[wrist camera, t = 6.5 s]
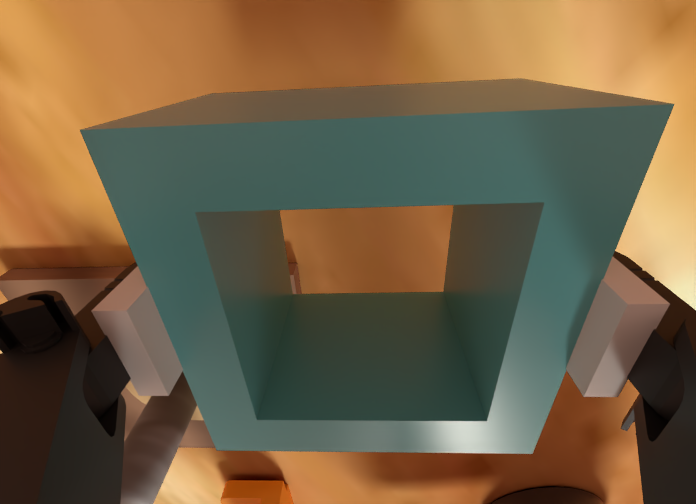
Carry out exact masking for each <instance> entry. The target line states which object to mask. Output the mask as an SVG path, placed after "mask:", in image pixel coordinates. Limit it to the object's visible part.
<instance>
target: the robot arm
mask: <svg viewBox="0 0 696 504" xmlns="http://www.w3.org/2000/svg"><path fill="white" fill-rule="evenodd" d="M0 350H1V351H2V352H3V353H2V354H0V504H120V502H121V486H122V470H123V453H124V437H125V421H126V403H125V399H124V397H123V396H122V394H121V392H122V391H123V389H124V388H125V387H126V385H127V384H128V382H129V381H131V383H132V384H133V386H134V388H135V390H136V391H137V393H138V395H139V396H169V394H170V393H171V391H172V389H173V387H174V385H175V384H176V382H177V380H178V378H179V377H180V375H181V373H182V371H183V368H182V366H181V363H180V361H179V359H178V356H177V354H176V352H175V349H174V347H173V345H172V342H171V340H170V338H169V335H168V333H167V330H166V328H165V326H164V323H163V321H162V319H161V316H160V314H159V312H158V309H157V307H156V305H155V302H154V300H153V298H152V295H151V293H150V290H149V288H148V287H147V286H146V284H145V282H144V279H143V277H142V275H141V272H140V270H139V267H138V265H137V263H134V264H132V265H131V266H129V267H127V268H126V269H125V270H123V271H122V272H121V273H120V274H119V275H118V276H117V277H116V278H115V279H114V281H112V282H111V283H109V284H108V285H107V286H106V287H105V288H104V291H101V292H100V293H99V294H98V295H97V296H95V297H94V298H93V299H92V300H91V301H90V302H89V303H88V304H87V305H86V306H85V307H84V308H82V309H81V310H80V311H79V312H78V313H77V314H76V315H75V316H74V314H73V312H72V311H71V309H70V307H69V306H68V304H67V302H66V301H65V299H64V298H63V296H62V294H60V293H59V292H57V291H48V290H44V291H38V292H33V293H29V294H25V295H22V296H19V297H16V298H14V299H12V300H9V301H7V302H5V303H3V304H1V305H0ZM566 370H567V372H568V373H569V375H570V376H571V378H572V380H573V381H574V383H575V384H576V386H577V387H578V389H579V391H580V392H581V394H582V395H583V397H618V396H619V394H620V392H621V391H622V389H623V387H624V385H625V383H626V382H627V380H628V379H629V380H630V382H631V383H632V384H633V385H634V387H635V388H636V389H637V390H638V391H639V393H640V394H639V395H638V397H637V399H636V400H635V402H634V404H633V405H632V407H631V409H630V410H629V412H628V414H627V415H626V417H625V418H624V420H623V422H622V426H621V429H623V430H625V431H627V430H628V429H629V427H630V425H631V424H632V423H633V422H635V426H636V435H637V445H638V454H639V464H640V473H641V483H642V492H643V502H644V504H696V310H694V309H693V308H692V307H691V306H689V305H688V304H687V303H686V302H684V301H683V300H682V299H680V298H679V297H678V296H677V295H675V294H674V293H673V292H672V291H670V290H669V289H668V288H666V287H665V286H664V285H663V284H661V283H660V282H659V281H655V280H654V277H652V276H651V275H650V274H649V273H647V272H646V271H642V268H641V267H640V266H638V265H637V264H636V263H635V262H633V261H632V260H631V259H630V258H628V257H626V256H624V255H622V254H620V253H618V252H616V251H615V252H614V254H613V257H612V259H611V262H610V264H609V266H608V269H607V271H606V274H605V276H604V279H602V280H601V283H600V285H599V288H598V290H597V293H596V295H595V298H594V300H593V303H592V305H591V307H590V310H589V312H588V315H587V317H586V320H585V322H584V325H583V327H582V330H581V332H580V335H579V337H578V340H577V342H576V345H575V347H574V350H573V352H572V355H571V357H570V360H569V362H568V365H567V367H566ZM492 504H604V503H603V501H602V500H601V499H600V498H599V497H597V496H595V495H594V494H591V493H589V492H586V491H583V490H578V489H572V488H560V487H550V488H537V489H531V490H525V491H521V492H517V493H513V494H510V495H508V496H505V497H503V498H500V499H498V500H497V501H495V502H493V503H492Z"/></svg>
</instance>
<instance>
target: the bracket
mask: <svg viewBox="0 0 696 504" xmlns="http://www.w3.org/2000/svg"><path fill="white" fill-rule="evenodd" d="M221 503H222V504H294V503H293V500H292V497H291V493H290V490H289V487H288V484H284V481H254V480H230V481H227V482H226V484H225V488H224V491H223V494H222V497H221Z"/></svg>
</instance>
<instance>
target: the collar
mask: <svg viewBox="0 0 696 504" xmlns="http://www.w3.org/2000/svg"><path fill="white" fill-rule="evenodd" d="M673 106H674V104H671V103H665V102H659V101H653V100H647V99H641V98H635V97H629V96H623V95H617V94H611V93H605V92H599V91H593V90H587V89H581V88H575V87H569V86H563V85H557V84H551V83H545V82H539V81H533V80H527V79H500V80H479V81H459V82H438V83H418V84H397V85H377V86H356V87H336V88H315V89H294V90H274V91H253V92H233V93H212V94H208V95H205V96H201V97H197V98H194V99H190V100H187V101H183V102H179V103H176V104H172V105H168V106H165V107H161V108H158V109H154V110H150V111H147V112H143V113H139V114H136V115H132V116H129V117H125V118H121V119H118V120H114V121H111V122H107V123H103V124H100V125H96V126H92V127H89V128H85V129H82V130H80V132H81V134H82V136H83V139H84V141H85V143H86V146H87V148H88V150H89V153H90V155H91V157H92V160H93V162H94V164H95V167H96V169H97V172H98V174H99V176H100V179H101V181H102V183H103V186H104V188H105V190H106V193H107V195H108V197H109V200H110V202H111V204H112V207H113V209H114V211H115V214H116V216H117V218H118V221H119V223H120V225H121V228H122V230H123V232H124V235H125V237H126V239H127V242H128V244H129V246H130V249H131V251H132V253H133V256H134V258H135V260H136V263H137V265H138V267H139V270H140V272H141V275H142V277H143V279H144V282H145V284H146V286H147V287H148V288H149V290H150V293H151V295H152V298H153V300H154V302H155V305H156V307H157V309H158V312H159V314H160V316H161V319H162V321H163V323H164V326H165V328H166V330H167V333H168V335H169V338H170V340H171V342H172V345H173V347H174V349H175V352H176V354H177V356H178V359H179V361H180V363H181V366H182V368H183V373H184V375H185V377H186V380H187V382H188V385H189V387H190V389H191V392H192V394H193V396H194V399H195V401H196V403H197V406H198V408H199V410H200V413H201V415H202V417H203V420H204V422H205V424H206V427H207V429H208V431H209V434H210V436H211V438H212V441H213V443H214V445H215V448H216V450H223V451H317V452H410V453H503V454H533V451H534V449H535V446H536V444H537V442H538V439H539V437H540V434H541V432H542V429H543V427H544V424H545V422H546V419H547V417H548V414H549V412H550V409H551V407H552V405H553V402H554V400H555V397H556V395H557V392H558V390H559V387H560V385H561V382H562V380H563V377H564V375H565V372H566V367H567V365H568V362H569V360H570V357H571V355H572V352H573V350H574V347H575V345H576V342H577V340H578V337H579V335H580V332H581V330H582V327H583V325H584V322H585V320H586V317H587V315H588V312H589V310H590V307H591V305H592V303H593V300H594V298H595V295H596V293H597V290H598V288H599V285H600V283H601V280H602V279H604V276H605V274H606V271H607V269H608V266H609V264H610V262H611V259H612V257H613V254H614V252H615V249H616V247H617V244H618V242H619V239H620V237H621V234H622V232H623V229H624V227H625V225H626V222H627V220H628V217H629V215H630V212H631V210H632V207H633V205H634V202H635V200H636V197H637V195H638V192H639V190H640V188H641V185H642V183H643V180H644V178H645V175H646V173H647V170H648V168H649V165H650V163H651V160H652V158H653V155H654V153H655V151H656V148H657V146H658V143H659V141H660V138H661V136H662V133H663V131H664V128H665V126H666V123H667V121H668V119H669V116H670V114H671V111H672V109H673ZM433 205H454V207H453V215H452V224H451V232H450V240H449V249H448V257H447V266H446V274H445V283H444V291H443V292H403V293H337V294H293V291H292V285H291V279H290V273H289V267H288V260H287V254H286V248H285V242H284V235H283V229H282V223H281V217H280V211H279V210H295V209H330V208H364V207H399V206H433Z"/></svg>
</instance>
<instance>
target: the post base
mask: <svg viewBox="0 0 696 504" xmlns="http://www.w3.org/2000/svg"><path fill="white" fill-rule="evenodd" d="M128 267H129V266H128ZM288 267H289V273H290V279H291V285H292V291H293V294H302V293H301V286H300V280H299V273H298V266H297V263H288ZM126 268H127V267H81V268H34V269H11V270H9V271H8V272H6V273H5V274H3V275H2V276H0V290H1V292H2V293H3V294H4V296H5V297H6V298H7V300H8V301H9V300H12V299H14V298H16V297H19V296H22V295H25V294H29V293H33V292H38V291H44V290H48V291H57V292H59V293H60V294H62V296H63V298H64V299H65V301H66V302H67V304H68V306H69V307H70V309H71V311H72V312H73V314H74V316H75V315H76V314H77V313H78V312H79V311H80V310H81V309H82V308H84V307H85V306H86V305H87V304H88V303H89V302H90V301H91V300H92V299H93V298H94V297H95V296H97V295H98V294H99V293H100V292H101V291H104V288H105V287H106V286H107V285H108V284H109V283H111V282H112V281H114V279H115V278H116V277H117V276H118V275H119V274H120V273H121V272H122V271H123V270H125V269H126ZM121 394H122V396H123V397H124V399H125V403H126V421H125V437H124V453H123V470H122V486H121V502H120V504H153V503H154V500H155V498H156V496H157V494H158V491H159V489H160V487H161V485H162V483H163V480H164V478H165V476H166V474H167V472H168V469H169V467H170V465H171V463H172V460H173V458H174V456H175V454H176V452H177V449H178V447H190V448H215V445H214V443H213V441H212V438H211V436H210V434H209V431H208V429H207V427H206V424H205V422H204V420H203V417H202V415H201V413H200V410H199V408H198V406H197V403H196V401H195V399H194V396H193V394H192V392H191V389H190V387H189V385H188V382H187V380H186V377H185V375H184V373H183V371H182V373H181V375H180V377H179V378H178V380H177V382H176V384H175V385H174V387H173V389H172V391H171V393H170V394H169V396H139V395H138V393H137V391H136V390H135V388H134V386H133V384H132V383H131V381H129V382H128V384H127V385H126V387H125V388H124V389H123V391H122V392H121Z"/></svg>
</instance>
